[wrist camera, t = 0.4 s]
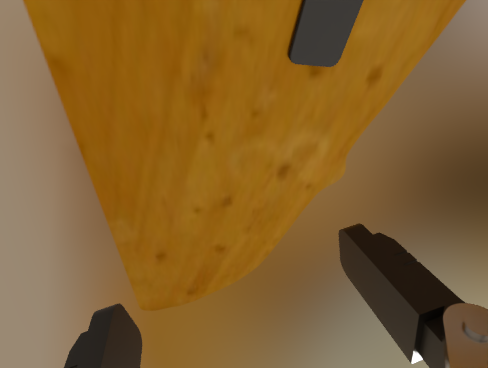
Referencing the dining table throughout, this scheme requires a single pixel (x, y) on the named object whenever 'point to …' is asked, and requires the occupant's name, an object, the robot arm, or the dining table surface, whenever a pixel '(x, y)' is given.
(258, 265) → the dining table surface
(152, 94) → the dining table surface
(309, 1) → the phone
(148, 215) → the dining table surface
